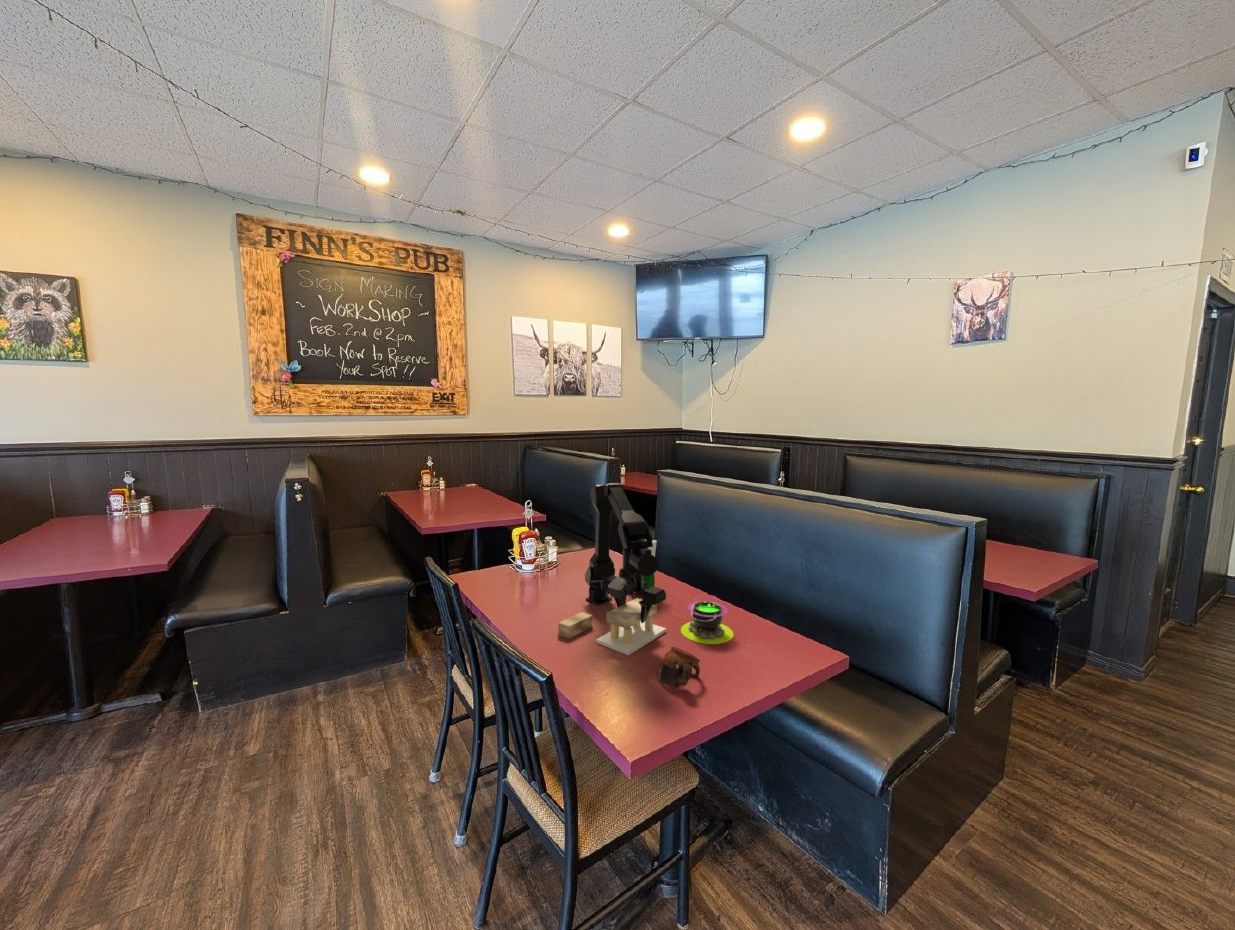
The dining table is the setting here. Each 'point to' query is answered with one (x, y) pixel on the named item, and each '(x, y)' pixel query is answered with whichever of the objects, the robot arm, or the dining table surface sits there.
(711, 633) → the toy cauldron
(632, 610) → the board
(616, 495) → the robot arm
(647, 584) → the milk carton
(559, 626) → the block
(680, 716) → the dining table surface
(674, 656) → the pottery mug
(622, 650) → the peg frame
